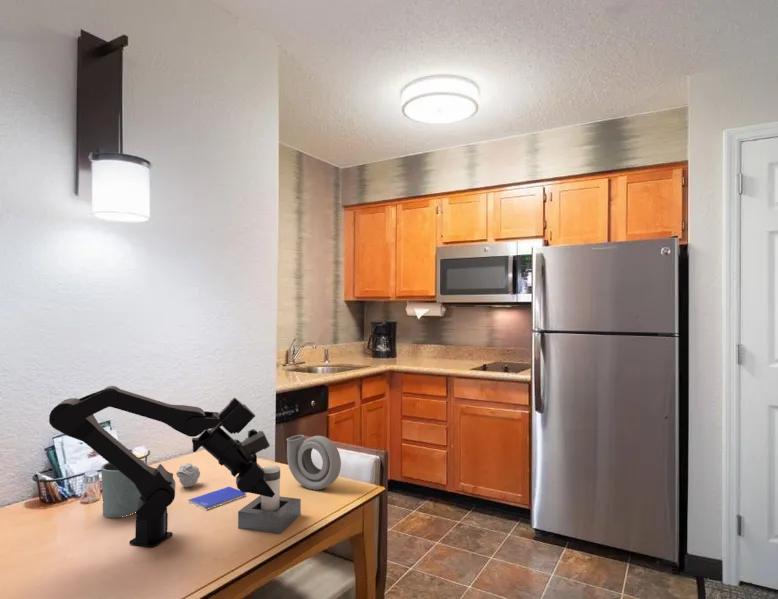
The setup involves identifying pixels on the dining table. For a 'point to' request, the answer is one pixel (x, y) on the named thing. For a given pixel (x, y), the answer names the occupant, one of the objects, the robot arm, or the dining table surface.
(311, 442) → the turbocharger housing
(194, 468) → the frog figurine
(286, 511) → the frame
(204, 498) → the hard drive
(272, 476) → the white rounded cylinder
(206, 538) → the dining table surface
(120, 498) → the grey green pot
